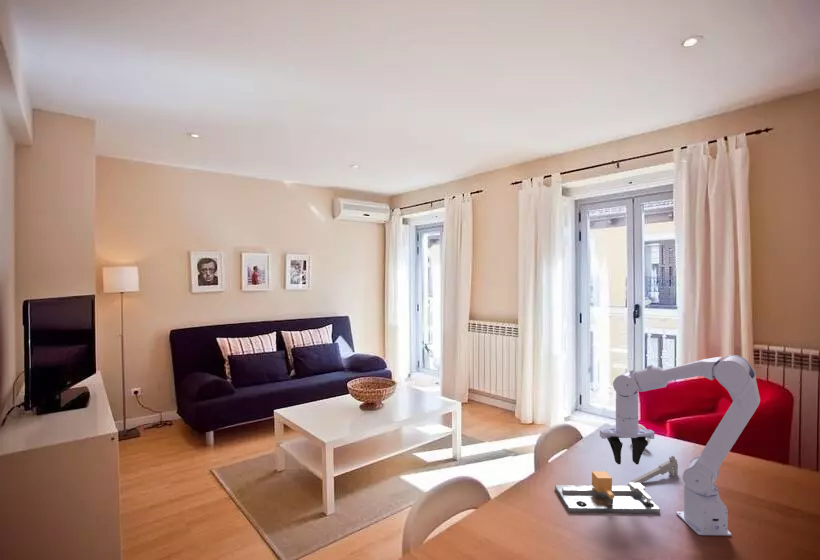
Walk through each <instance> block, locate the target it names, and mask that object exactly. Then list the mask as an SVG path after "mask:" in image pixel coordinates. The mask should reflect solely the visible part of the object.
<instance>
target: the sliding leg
mask: <svg viewBox="0 0 820 560" xmlns="http://www.w3.org/2000/svg"><path fill="white" fill-rule="evenodd" d="M591 485H592V486H593V487H594V488H595V489H596V491H597V492H605V493H606V494H607V495H608V496H609V503H610V504H613V498H614V494H613V493H612V486H613V478H612V476H610V474H609V473H608V472H607V471H603V470H602V471H600V470H599V471H597V470H596V471H594V470H593V471H591Z"/></svg>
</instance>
